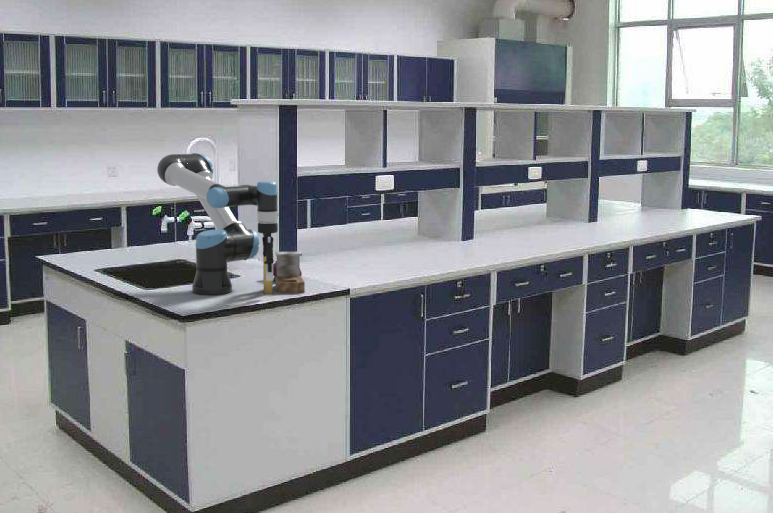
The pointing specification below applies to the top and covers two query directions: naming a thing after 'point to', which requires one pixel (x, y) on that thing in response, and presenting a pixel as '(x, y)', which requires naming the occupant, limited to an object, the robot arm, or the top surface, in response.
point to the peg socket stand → (289, 273)
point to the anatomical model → (276, 270)
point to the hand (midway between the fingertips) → (268, 277)
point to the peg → (266, 283)
